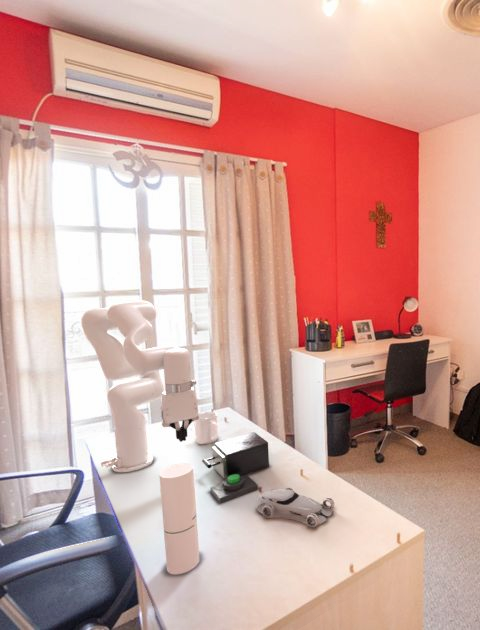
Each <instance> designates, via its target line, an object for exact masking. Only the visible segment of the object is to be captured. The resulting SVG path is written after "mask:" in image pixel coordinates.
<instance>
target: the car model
mask: <svg viewBox="0 0 480 630" xmlns="http://www.w3.org/2000/svg"><path fill="white" fill-rule="evenodd" d="M256 499H257V501H258V502H260V503H261V504H259V506H258V507H257V511H258V512H259V513H260V514H261V515H263V516H264V518H268V519H271V518H277V519H278V518H279V519H281V518H282V519H287V520H293V521H296V522H299V523H302V524H305V525H306V526H308V527H310V528H315V527H317V526H319V525H321V524H323V523H325V522H326V521H327V518H329V517H331V516H332V514H333V510H334V508H335V505H336V504H335V500H334V499H333V498H332V497H326V498H324V499H323V500H322V503H321V502H319V501H317V500H315V499H313V498H311V497H309V496H306V495H302V494H300V493H297V492H296V491H294V489H293V488H292V487H286V488H284V489H268V490H264V491H262V492H261V493H259V494H258V495H257V497H256ZM327 502H328V503H329V504H330V506H328V504H327Z"/></svg>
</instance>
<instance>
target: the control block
mask: <svg viewBox="0 0 480 630" xmlns="http://www.w3.org/2000/svg"><path fill="white" fill-rule="evenodd" d="M258 489H259V487H258V483H256V482H255V481H254V479H252V478H251V477H250V476H249V474H247V475H244V476H240V481H239V482H238V483H235V484H228V478H227V479H226V478H225V479H224V480H223V481H222V482H221V483H218V484H215V485H213V486H210V493H211V495H213V496H214V498H215V499H216V500H217V501H218V503H219V504H223V503H224V502H227V501H231V500H233V499H236V498H238V497H241V496H244V495H246V494H248V493H252V492H254V491H256V490H258Z"/></svg>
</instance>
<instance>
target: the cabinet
mask: <svg viewBox="0 0 480 630" xmlns="http://www.w3.org/2000/svg"><path fill="white" fill-rule="evenodd" d="M214 446H216V447H217V448H218V449H219V450H220V451H221V452H222V453H223V454H225V455H226V461H227V478H228V477H229V476H230V475H234V474H238V475H239V476H244V475H249V474H252V473H255V472H258V471H261V470H264V469H267V468H269V467H270V457H269V456H270V455H269V453H270V452H269V442H268V441H267V440H265V438H263V437H262V436H260V435H259V434H257V432H254V431H253V432H250V433H246V434H243V435H239V436H235V437H232V438H227V439H225V440H222V441H221V440H220V441H218V442H215V443H214ZM227 478H225V479H227Z"/></svg>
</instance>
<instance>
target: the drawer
mask: <svg viewBox="0 0 480 630" xmlns="http://www.w3.org/2000/svg"><path fill="white" fill-rule="evenodd" d="M211 455H212V457H209V458H203V459H202V460H201V463H203V464H204V465H205V466H206V468H207V469H211V468H212V467H213V469H214V470H215V471H216V472H217V473H218V474H219V475H220V476H221V477H222V479H224V480H225V479H226V478H227V461H226V455H225V454H223V453H222V452H221V451H220V450H219V449H218V448H217V447H216V446H215V445H214V446H211ZM209 461H212V463H211V462H209Z"/></svg>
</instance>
